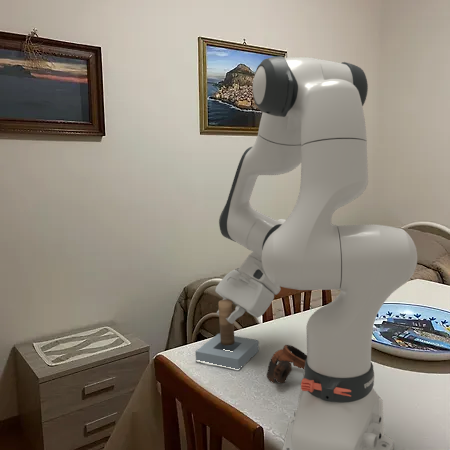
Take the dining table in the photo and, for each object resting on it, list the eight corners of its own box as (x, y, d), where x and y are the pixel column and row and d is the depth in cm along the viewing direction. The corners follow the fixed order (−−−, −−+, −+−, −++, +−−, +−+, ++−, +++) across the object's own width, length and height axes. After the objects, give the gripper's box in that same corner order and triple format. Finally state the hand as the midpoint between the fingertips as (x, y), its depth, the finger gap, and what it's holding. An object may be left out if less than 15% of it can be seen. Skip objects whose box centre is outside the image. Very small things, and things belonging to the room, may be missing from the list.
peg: (230, 346, 115) (228, 304, 113) (218, 344, 117) (215, 303, 115) (237, 340, 118) (234, 300, 116) (224, 338, 120) (222, 298, 118)
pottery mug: (269, 367, 112) (285, 338, 111) (302, 390, 108) (319, 361, 108) (254, 378, 101) (272, 346, 100) (291, 404, 97) (310, 371, 96)
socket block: (238, 371, 110) (238, 359, 109) (196, 362, 115) (195, 351, 115) (258, 350, 120) (258, 340, 120) (218, 343, 126) (218, 333, 125)
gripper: (228, 260, 126) (198, 300, 124) (268, 277, 108) (234, 325, 106) (243, 273, 129) (214, 313, 126) (284, 291, 111) (252, 338, 108)
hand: (224, 318), depth 116 cm, fingers closed on peg, 4 cm apart
